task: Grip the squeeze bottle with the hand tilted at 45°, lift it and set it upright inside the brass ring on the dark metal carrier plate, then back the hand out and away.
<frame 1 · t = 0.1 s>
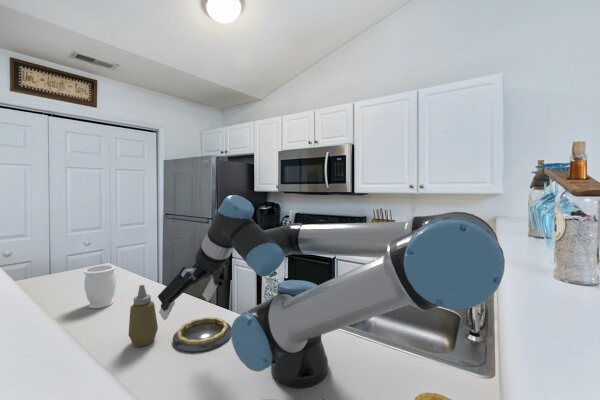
hand: (185, 306, 79), 15 cm above the worktop, tool tilted 35°, fingers open, 13 cm apart
squeeze bottle: (143, 342, 88), on the worktop
jar: (101, 305, 116), on the worktop
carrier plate: (203, 336, 92), on the worktop
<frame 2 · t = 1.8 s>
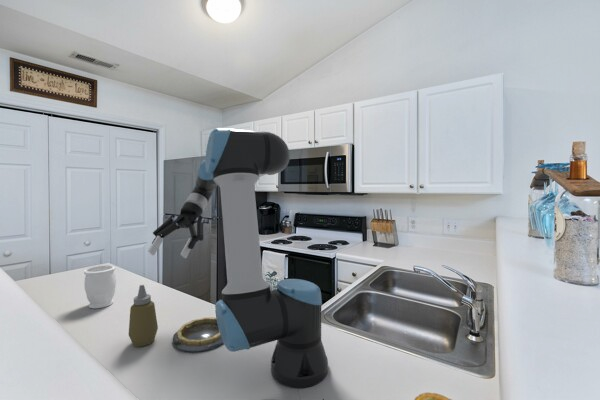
hand: (166, 254, 97), 25 cm above the worktop, tool tilted 45°, fingers open, 13 cm apart
nothing on the worktop moved.
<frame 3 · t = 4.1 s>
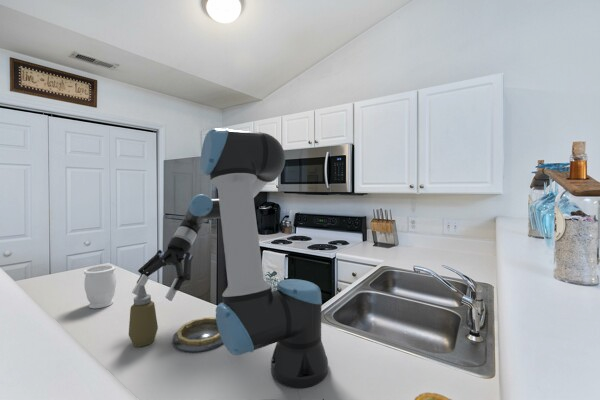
hand: (151, 296, 92), 13 cm above the worktop, tool tilted 45°, fingers open, 13 cm apart
nothing on the worktop moved.
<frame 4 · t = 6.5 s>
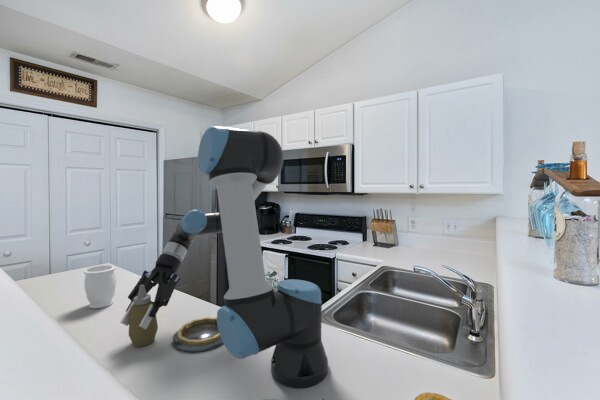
hand: (133, 325, 84), 7 cm above the worktop, tool tilted 45°, fingers closed on squeeze bottle, 6 cm apart
squeeze bottle: (143, 342, 88), on the worktop, touching gripper
everything else where it was.
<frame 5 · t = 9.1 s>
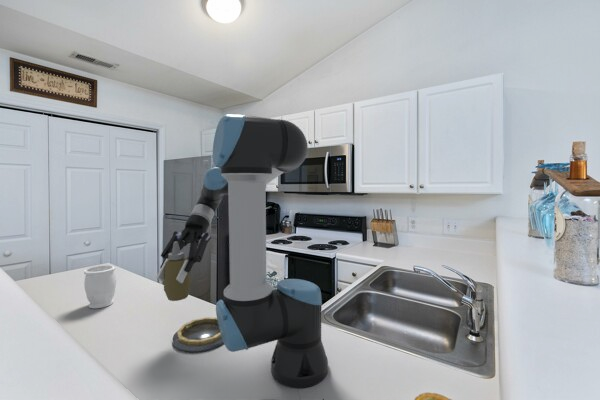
hand: (169, 280, 86), 20 cm above the worktop, tool tilted 45°, fingers closed on squeeze bottle, 6 cm apart
squeeze bottle: (178, 298, 90), point 13 cm above the worktop, touching gripper
everything else where it was.
when the fingers open (9 cm above the worktop, at t = 12.1 s): squeeze bottle drops 1 cm, resting on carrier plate.
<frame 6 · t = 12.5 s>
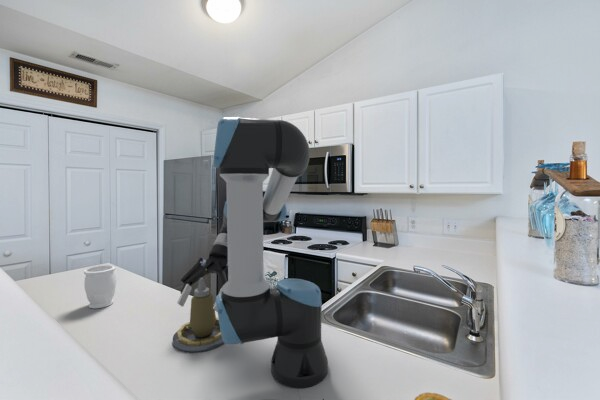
hand: (197, 307, 89), 11 cm above the worktop, tool tilted 45°, fingers open, 12 cm apart
squeeze bottle: (203, 333, 92), point 1 cm above the worktop, touching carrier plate
everything else where it was.
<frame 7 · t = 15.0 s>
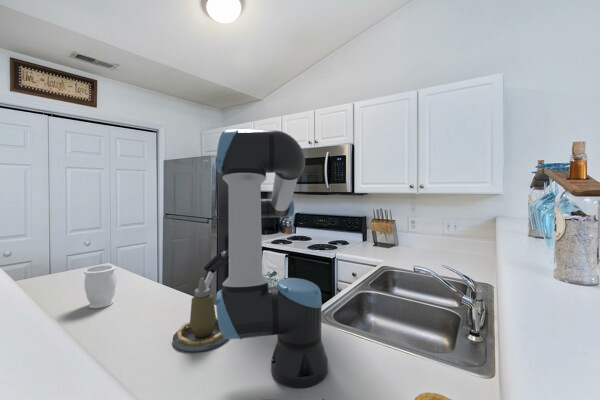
hand: (220, 291, 101), 11 cm above the worktop, tool tilted 45°, fingers open, 13 cm apart
nothing on the worktop moved.
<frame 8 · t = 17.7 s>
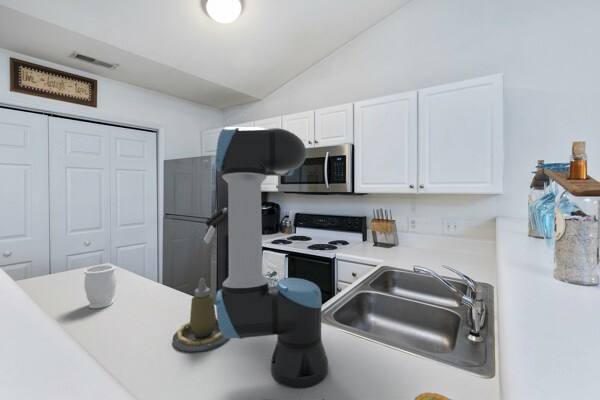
hand: (222, 242, 103), 28 cm above the worktop, tool tilted 45°, fingers open, 13 cm apart
nothing on the worktop moved.
at the end: squeeze bottle inside the target area on the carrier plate (0.1 cm from its centre), point 0.8 cm above the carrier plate's base; squeeze bottle tilted 0°; the gripper is holding nothing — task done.
